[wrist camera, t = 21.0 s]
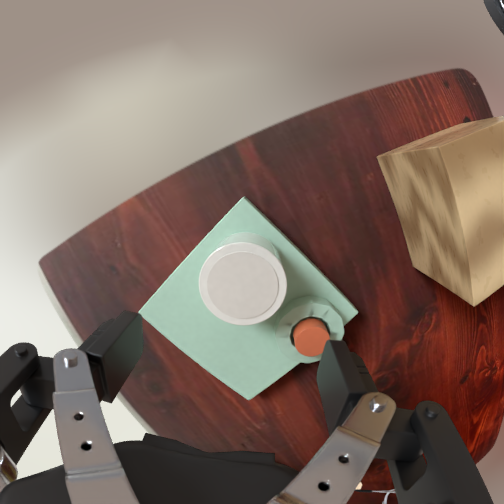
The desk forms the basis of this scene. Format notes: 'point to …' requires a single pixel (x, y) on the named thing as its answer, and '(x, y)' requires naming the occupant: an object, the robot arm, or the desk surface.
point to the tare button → (310, 337)
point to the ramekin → (243, 279)
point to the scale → (249, 336)
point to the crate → (453, 205)
